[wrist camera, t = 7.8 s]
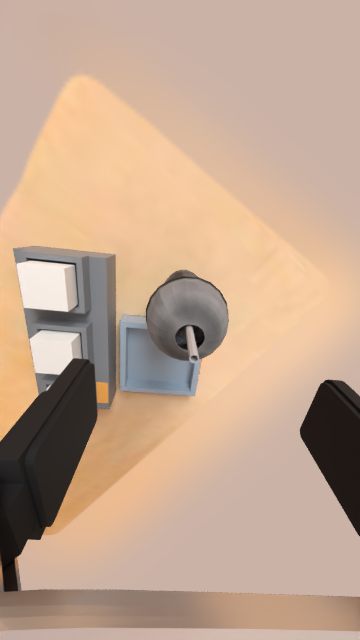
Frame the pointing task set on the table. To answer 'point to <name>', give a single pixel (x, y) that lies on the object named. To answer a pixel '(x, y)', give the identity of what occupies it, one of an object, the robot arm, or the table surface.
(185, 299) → the beverage cup
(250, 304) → the table surface
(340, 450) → the robot arm
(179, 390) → the tray
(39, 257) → the grey switch block
